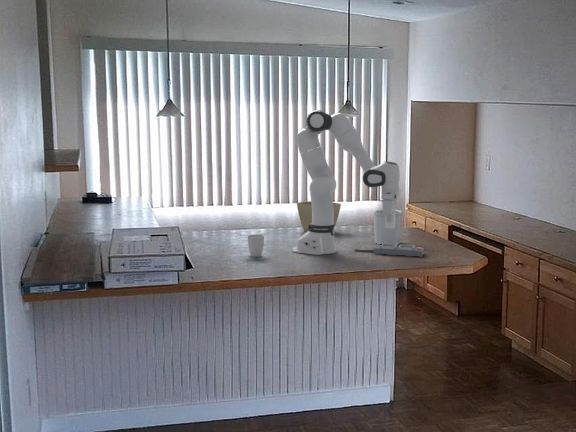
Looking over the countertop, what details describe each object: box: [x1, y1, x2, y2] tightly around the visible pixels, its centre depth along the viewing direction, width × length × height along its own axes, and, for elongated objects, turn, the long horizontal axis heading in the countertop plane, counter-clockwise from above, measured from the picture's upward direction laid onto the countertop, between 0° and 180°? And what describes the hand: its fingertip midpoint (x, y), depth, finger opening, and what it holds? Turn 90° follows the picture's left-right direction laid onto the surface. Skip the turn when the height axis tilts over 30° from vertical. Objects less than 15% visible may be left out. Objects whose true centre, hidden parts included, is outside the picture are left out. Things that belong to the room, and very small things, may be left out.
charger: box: [385, 211, 395, 228], centre depth 357 cm, size 4×4×8 cm
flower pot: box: [296, 200, 342, 232], centre depth 418 cm, size 19×19×17 cm
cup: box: [247, 234, 265, 258], centre depth 352 cm, size 8×8×10 cm
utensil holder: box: [373, 208, 402, 245], centre depth 384 cm, size 15×15×18 cm
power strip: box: [354, 243, 425, 258], centre depth 360 cm, size 35×8×4 cm, turn 73°
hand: (389, 221), depth 357 cm, fingers closed on charger, 4 cm apart
